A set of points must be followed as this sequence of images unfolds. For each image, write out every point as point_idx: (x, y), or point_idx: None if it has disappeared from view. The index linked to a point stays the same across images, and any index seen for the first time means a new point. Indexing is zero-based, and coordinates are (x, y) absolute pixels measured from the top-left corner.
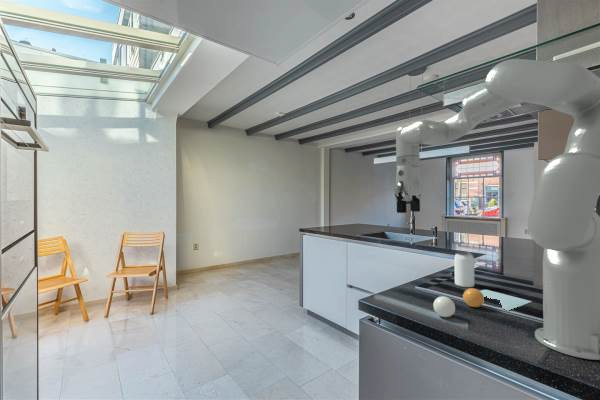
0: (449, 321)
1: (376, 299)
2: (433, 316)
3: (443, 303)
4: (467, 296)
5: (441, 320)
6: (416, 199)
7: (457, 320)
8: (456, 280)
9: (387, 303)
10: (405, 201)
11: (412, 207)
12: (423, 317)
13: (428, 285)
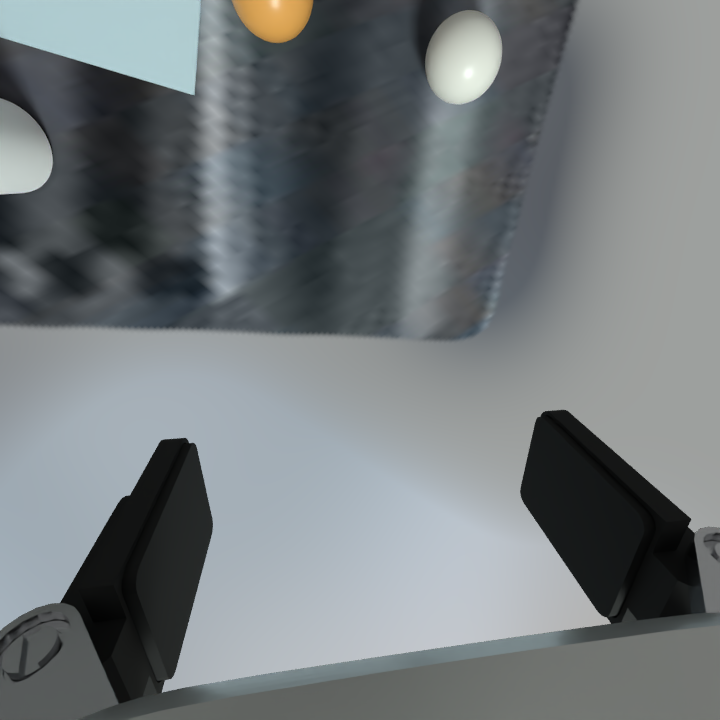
0: None
1: (445, 316)
2: None
3: (501, 42)
4: (311, 3)
5: None
6: (121, 642)
7: None
8: (38, 173)
9: (455, 273)
10: (680, 510)
11: (198, 548)
12: (497, 125)
13: (164, 267)
